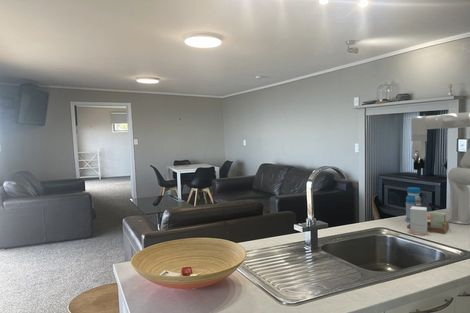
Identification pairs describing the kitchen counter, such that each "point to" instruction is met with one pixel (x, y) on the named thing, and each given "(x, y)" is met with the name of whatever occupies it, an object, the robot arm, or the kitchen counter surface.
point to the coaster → (418, 233)
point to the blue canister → (412, 200)
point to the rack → (437, 223)
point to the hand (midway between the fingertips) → (419, 169)
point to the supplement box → (418, 219)
